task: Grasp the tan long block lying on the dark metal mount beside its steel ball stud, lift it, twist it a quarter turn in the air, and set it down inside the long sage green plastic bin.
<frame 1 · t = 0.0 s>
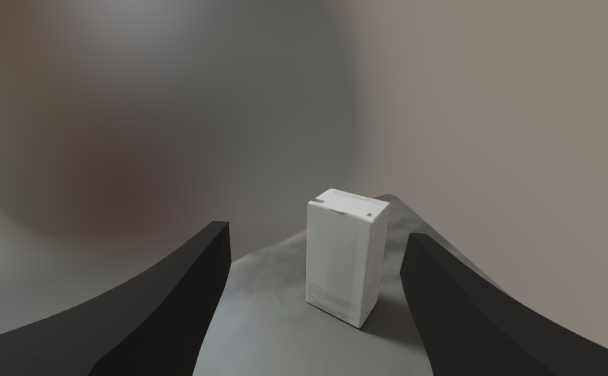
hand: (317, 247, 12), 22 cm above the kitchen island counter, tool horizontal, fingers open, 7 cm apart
skincare box: (338, 303, 39), on the kitchen island counter
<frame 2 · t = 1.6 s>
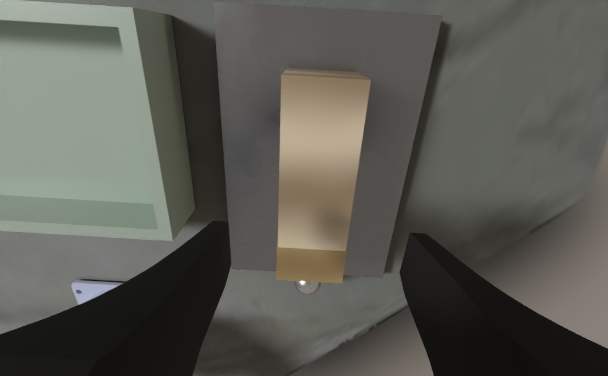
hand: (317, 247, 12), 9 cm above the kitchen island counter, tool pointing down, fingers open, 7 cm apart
tan long block: (315, 168, 19), point 1 cm above the kitchen island counter, touching mount
mount: (315, 162, 20), on the kitchen island counter
bin: (43, 117, 19), on the kitchen island counter
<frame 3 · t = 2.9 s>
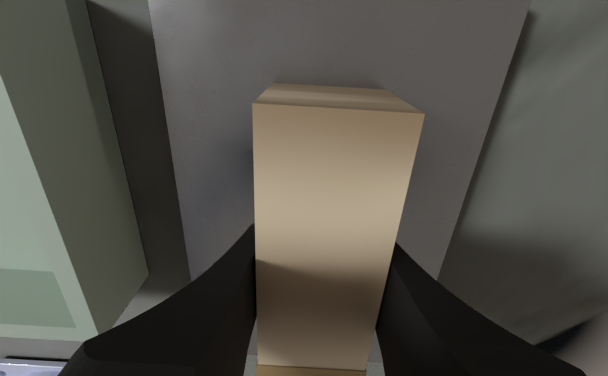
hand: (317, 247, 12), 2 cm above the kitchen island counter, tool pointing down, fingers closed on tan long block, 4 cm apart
tan long block: (316, 228, 13), point 1 cm above the kitchen island counter, touching gripper, mount
mount: (316, 216, 14), on the kitchen island counter
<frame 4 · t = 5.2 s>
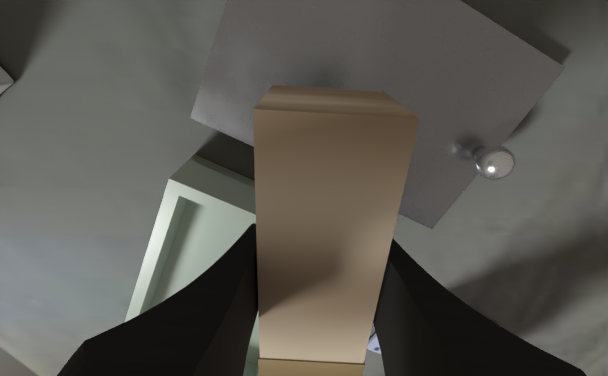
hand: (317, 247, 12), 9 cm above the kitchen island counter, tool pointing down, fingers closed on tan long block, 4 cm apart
tan long block: (316, 226, 13), point 8 cm above the kitchen island counter, touching gripper
mount: (365, 91, 18), on the kitchen island counter
bin: (234, 278, 25), on the kitchen island counter
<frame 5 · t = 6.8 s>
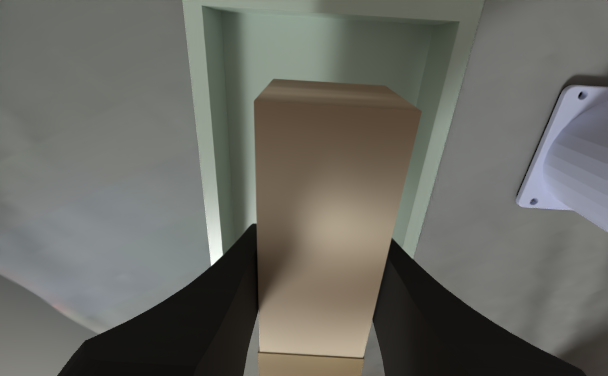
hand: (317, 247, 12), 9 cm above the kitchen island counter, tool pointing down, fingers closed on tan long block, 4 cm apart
tan long block: (316, 221, 13), point 7 cm above the kitchen island counter, touching gripper
bin: (315, 164, 20), on the kitchen island counter
when the fingers open (5 cm above the kitchen island counter, at t = 7.9 s): tan long block drops 2 cm, resting on bin.
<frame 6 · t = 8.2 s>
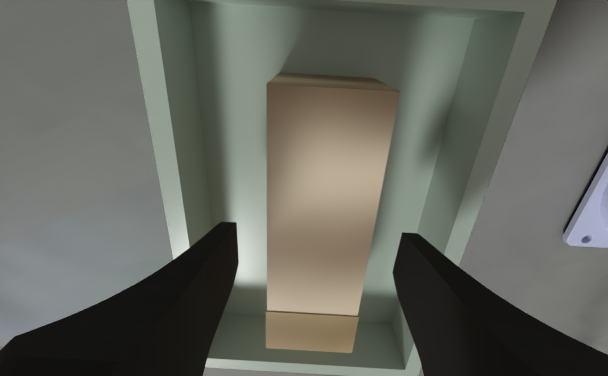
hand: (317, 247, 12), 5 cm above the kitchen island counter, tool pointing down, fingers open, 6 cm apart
tan long block: (316, 200, 15), point 1 cm above the kitchen island counter, touching bin
bin: (316, 193, 16), on the kitchen island counter
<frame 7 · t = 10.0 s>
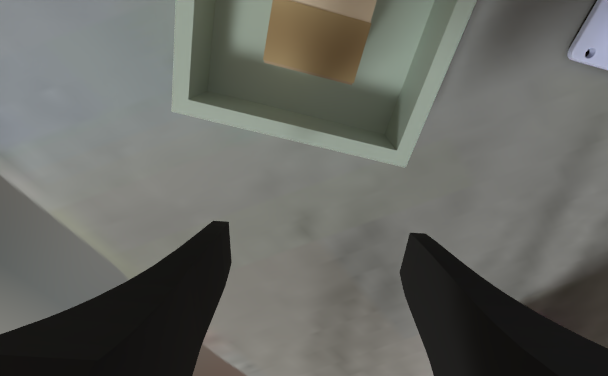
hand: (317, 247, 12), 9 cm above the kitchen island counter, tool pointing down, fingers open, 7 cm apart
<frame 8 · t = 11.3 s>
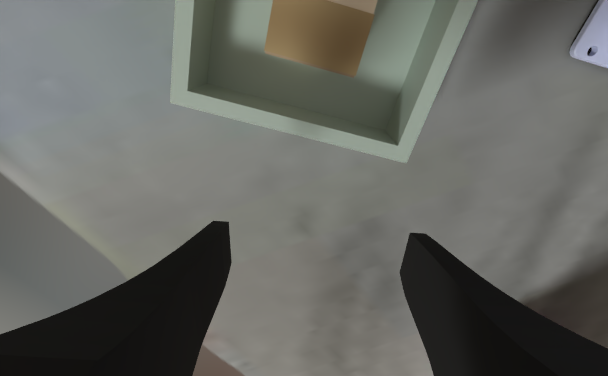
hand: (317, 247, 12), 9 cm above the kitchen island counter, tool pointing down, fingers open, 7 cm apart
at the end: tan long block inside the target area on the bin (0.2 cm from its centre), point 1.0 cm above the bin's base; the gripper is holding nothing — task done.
